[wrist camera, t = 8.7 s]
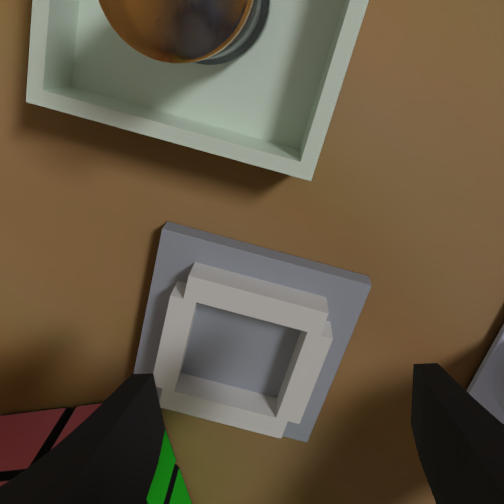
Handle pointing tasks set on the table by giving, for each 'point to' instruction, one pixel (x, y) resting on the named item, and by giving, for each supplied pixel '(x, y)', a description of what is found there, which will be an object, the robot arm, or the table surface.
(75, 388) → the table surface
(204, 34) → the dark cylindrical piece
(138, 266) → the table surface
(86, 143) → the table surface
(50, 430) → the puzzle cube
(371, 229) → the table surface
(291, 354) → the mount plate
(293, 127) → the bin
